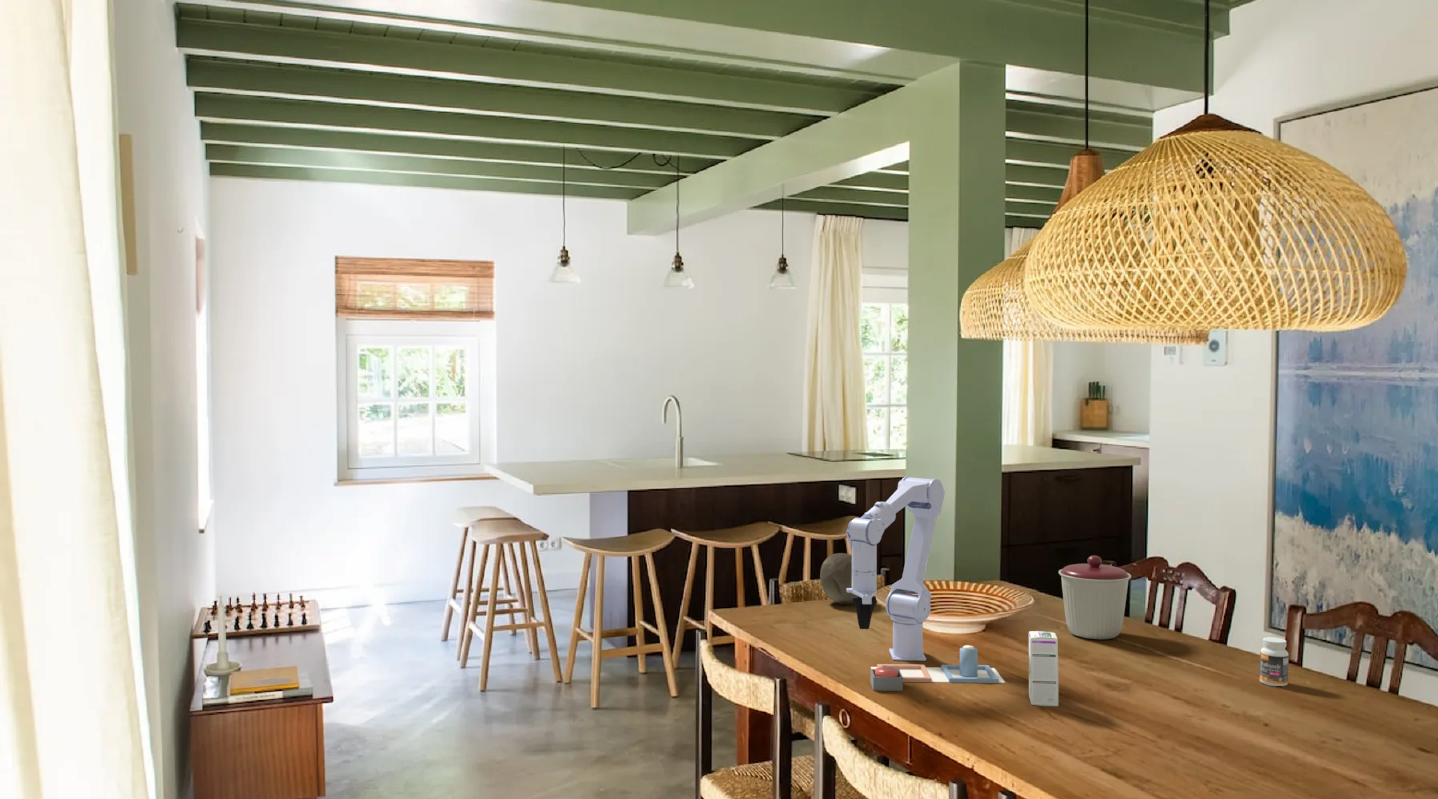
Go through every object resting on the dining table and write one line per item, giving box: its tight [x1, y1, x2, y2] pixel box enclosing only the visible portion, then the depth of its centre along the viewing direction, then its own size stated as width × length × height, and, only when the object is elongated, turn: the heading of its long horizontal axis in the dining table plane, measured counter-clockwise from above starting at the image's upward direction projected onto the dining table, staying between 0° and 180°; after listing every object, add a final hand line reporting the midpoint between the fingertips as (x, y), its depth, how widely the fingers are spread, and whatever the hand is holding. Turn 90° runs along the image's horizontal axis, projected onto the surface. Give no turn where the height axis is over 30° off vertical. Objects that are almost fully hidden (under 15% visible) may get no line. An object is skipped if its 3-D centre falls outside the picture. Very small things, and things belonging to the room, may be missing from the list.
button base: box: [869, 668, 904, 692], centre depth 237 cm, size 6×6×3 cm
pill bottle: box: [1259, 636, 1290, 687], centre depth 239 cm, size 6×6×10 cm
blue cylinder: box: [959, 644, 979, 677], centre depth 246 cm, size 4×4×7 cm
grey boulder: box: [819, 552, 858, 605], centre depth 321 cm, size 14×14×15 cm
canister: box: [1058, 555, 1132, 640], centre depth 282 cm, size 18×18×21 cm
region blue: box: [940, 664, 999, 683], centre depth 246 cm, size 11×11×1 cm
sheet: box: [870, 666, 1006, 684], centre depth 246 cm, size 12×29×1 cm, turn 88°
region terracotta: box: [876, 663, 932, 683], centre depth 246 cm, size 11×11×1 cm
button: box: [875, 667, 898, 677], centre depth 237 cm, size 5×5×2 cm
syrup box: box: [1028, 630, 1059, 707], centre depth 226 cm, size 6×6×14 cm
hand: (864, 628), depth 248 cm, fingers closed
